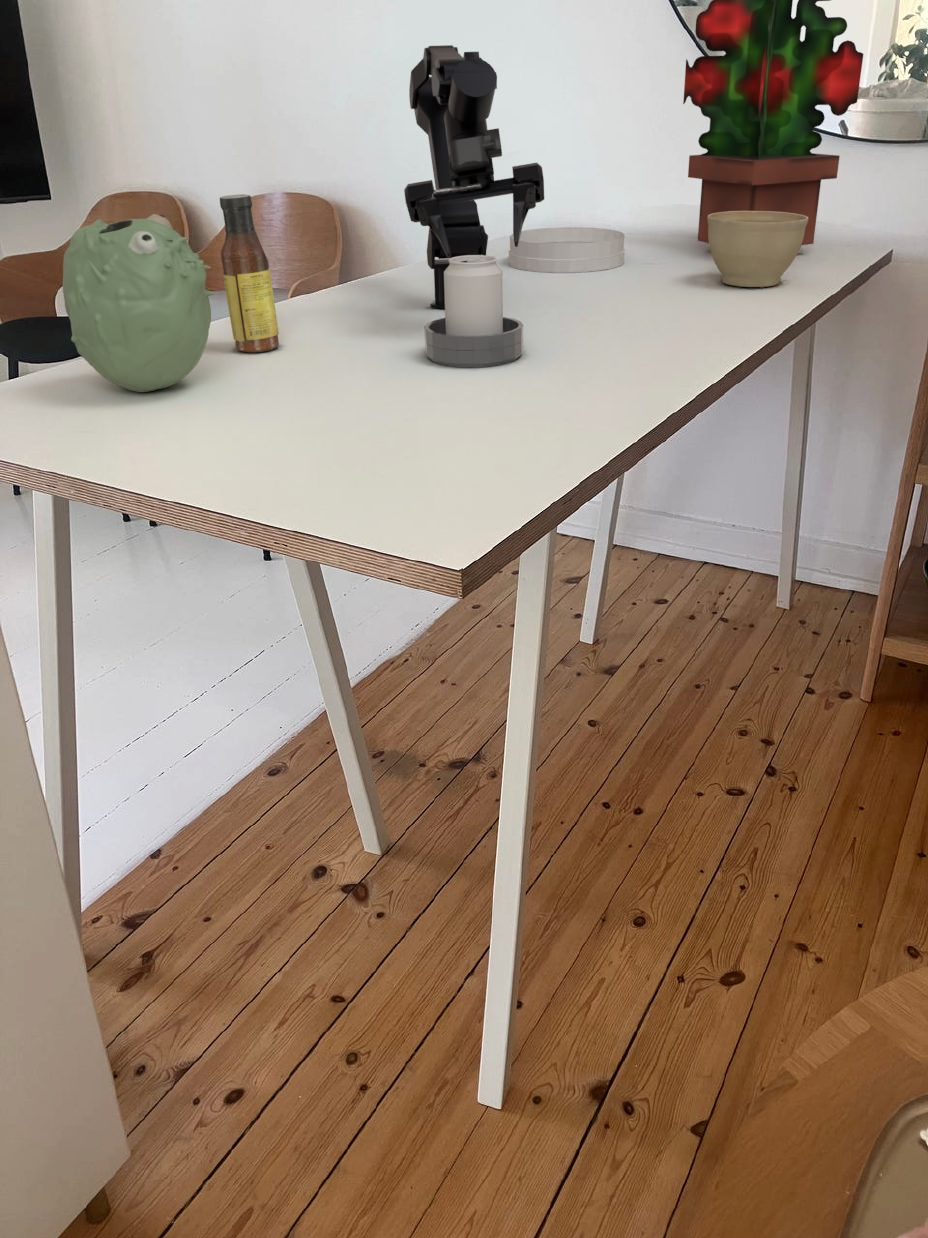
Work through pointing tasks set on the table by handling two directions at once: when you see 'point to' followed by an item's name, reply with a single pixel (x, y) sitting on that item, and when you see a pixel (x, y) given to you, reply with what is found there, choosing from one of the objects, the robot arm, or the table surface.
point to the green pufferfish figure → (136, 301)
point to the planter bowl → (754, 245)
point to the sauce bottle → (247, 279)
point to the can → (473, 296)
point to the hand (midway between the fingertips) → (482, 250)
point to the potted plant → (767, 105)
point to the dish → (567, 250)
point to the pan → (474, 345)
